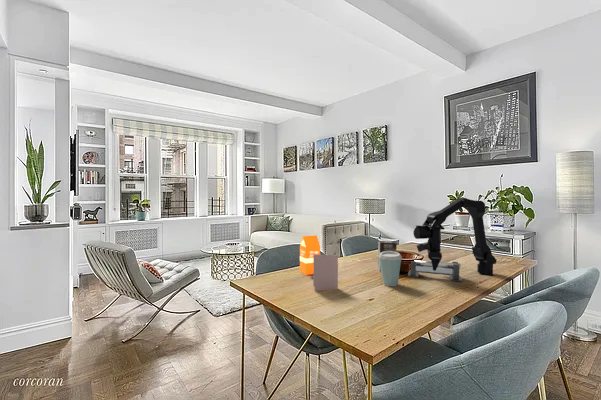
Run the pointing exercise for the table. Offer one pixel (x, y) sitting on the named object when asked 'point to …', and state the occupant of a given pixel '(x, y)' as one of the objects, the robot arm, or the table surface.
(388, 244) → the coffee box
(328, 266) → the greeting card
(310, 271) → the orange juice
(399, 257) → the disposable coffee cup
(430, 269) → the grey plate
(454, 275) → the dark grey notched cradle
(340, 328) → the table surface
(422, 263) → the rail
